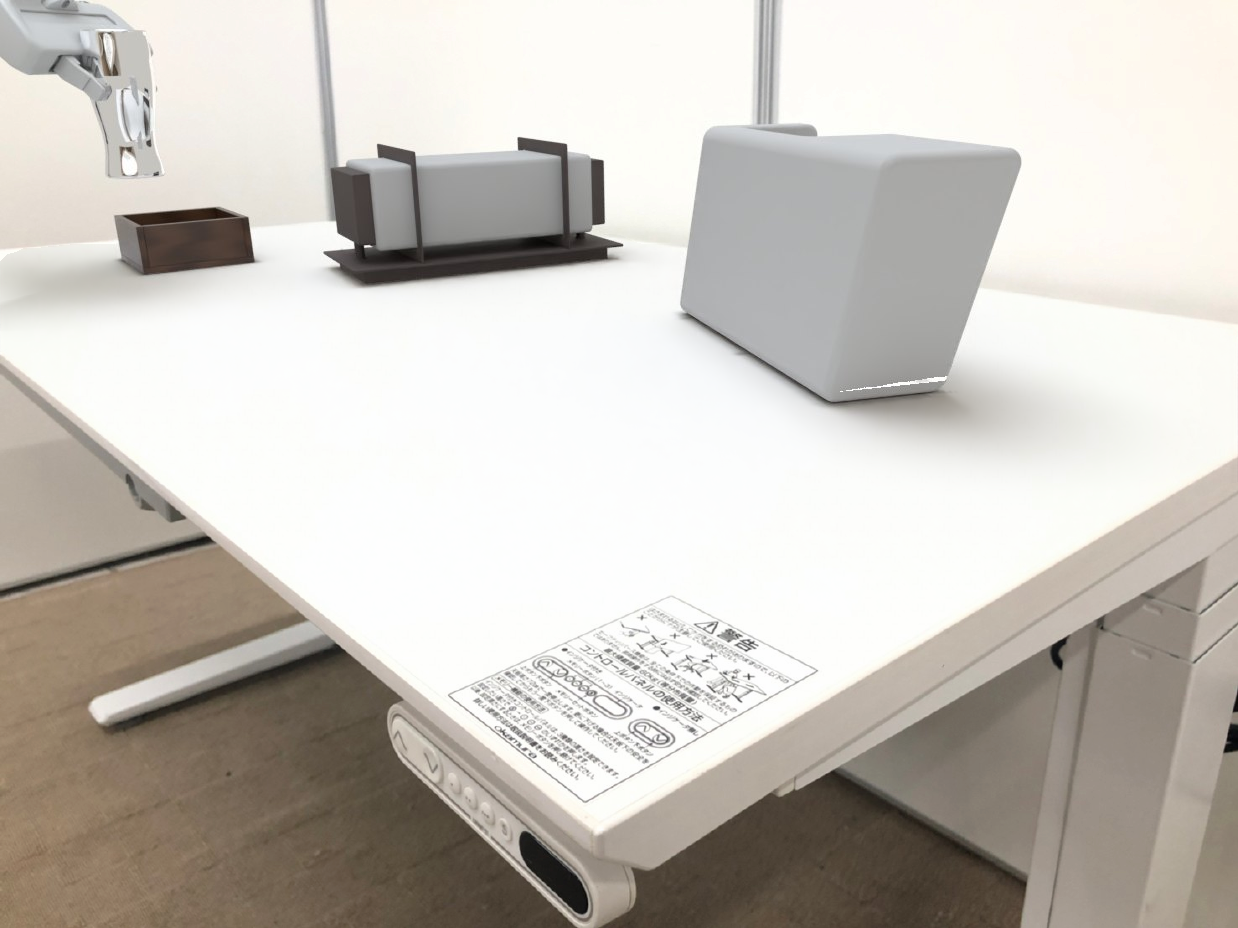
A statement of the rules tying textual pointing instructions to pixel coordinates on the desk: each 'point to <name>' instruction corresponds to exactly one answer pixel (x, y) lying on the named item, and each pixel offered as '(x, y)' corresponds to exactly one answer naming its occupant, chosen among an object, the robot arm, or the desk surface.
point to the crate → (184, 239)
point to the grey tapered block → (843, 251)
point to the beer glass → (125, 101)
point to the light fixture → (468, 211)
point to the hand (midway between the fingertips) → (128, 95)
